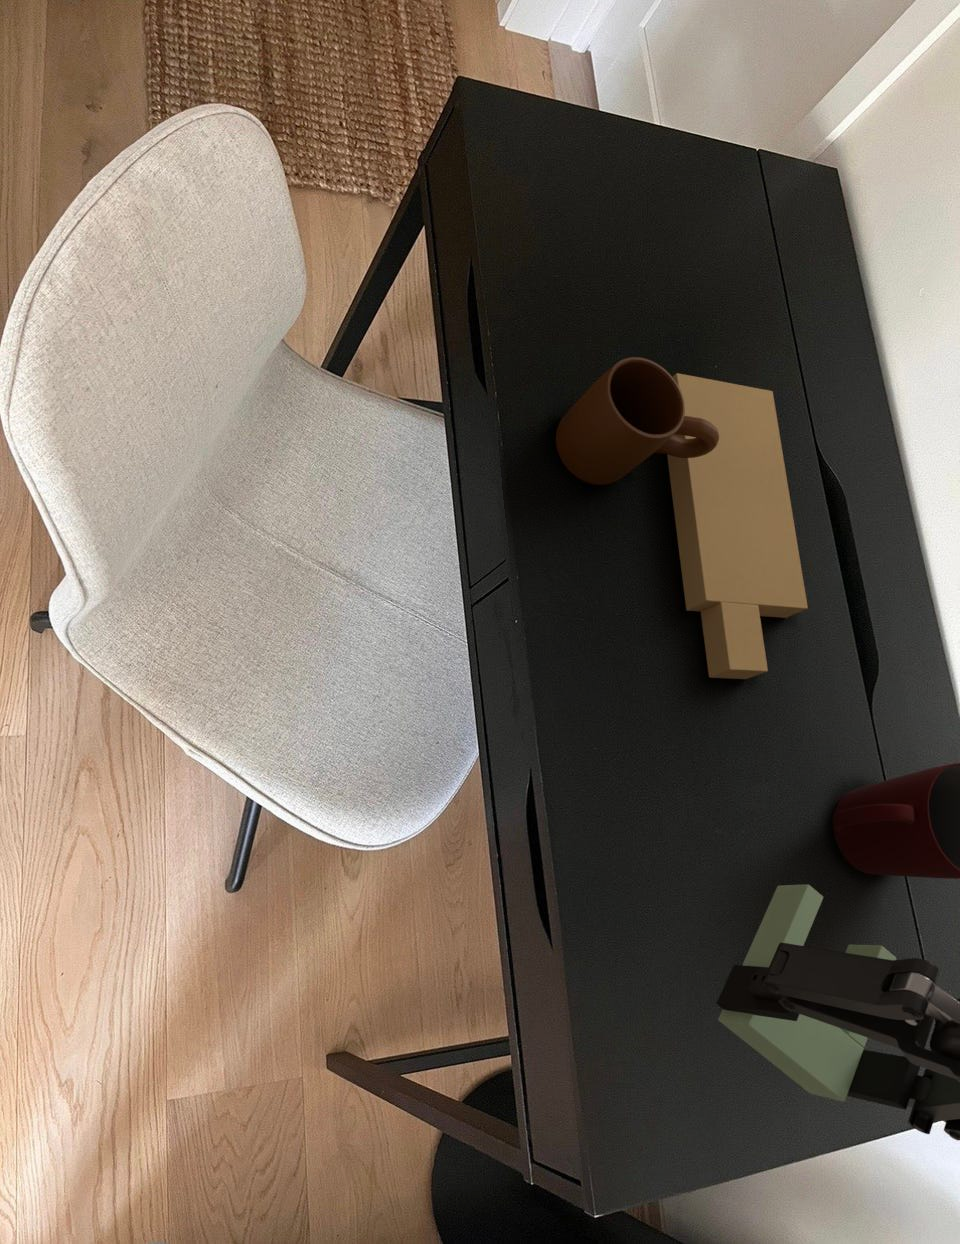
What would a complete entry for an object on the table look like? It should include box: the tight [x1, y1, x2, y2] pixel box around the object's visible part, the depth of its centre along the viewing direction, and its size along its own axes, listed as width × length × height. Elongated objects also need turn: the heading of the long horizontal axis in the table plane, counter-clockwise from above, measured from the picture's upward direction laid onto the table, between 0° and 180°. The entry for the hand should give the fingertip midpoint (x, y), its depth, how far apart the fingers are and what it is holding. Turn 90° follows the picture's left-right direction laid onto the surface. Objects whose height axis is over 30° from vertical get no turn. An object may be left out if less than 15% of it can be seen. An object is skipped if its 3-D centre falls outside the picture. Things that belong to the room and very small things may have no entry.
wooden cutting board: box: [666, 372, 808, 680], centre depth 84 cm, size 11×28×3 cm, turn 3°
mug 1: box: [555, 356, 719, 486], centre depth 79 cm, size 12×8×9 cm, turn 78°
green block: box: [717, 884, 897, 1103], centre depth 58 cm, size 10×8×3 cm
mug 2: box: [832, 762, 960, 880], centre depth 77 cm, size 12×9×11 cm
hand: (779, 1027), depth 58 cm, fingers closed on green block, 8 cm apart
